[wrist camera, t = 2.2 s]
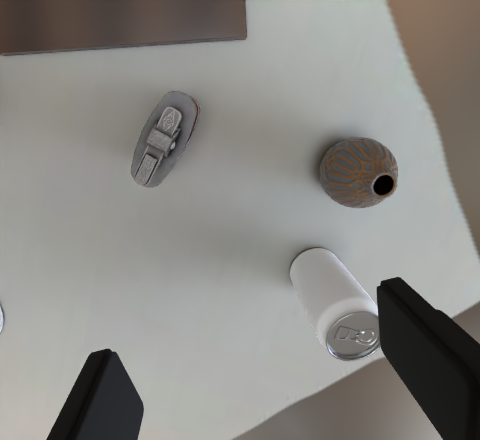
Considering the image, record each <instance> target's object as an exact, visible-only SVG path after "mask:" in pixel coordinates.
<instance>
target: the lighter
mask: <svg viewBox="0 0 480 440" xmlns="http://www.w3.org/2000/svg"><path fill="white" fill-rule="evenodd" d="M199 111H200V109H199V105H198V103H197V102H196V101H195V100H194V99H193V98H192V97H190V96H187V95H186V94H184V93H182V92H178V91H172V92H169V93H167V94H166V95H165V96H164V97H163V98H162V100H161V101H160V102H159V104H158V105H157V106H156V108H155V109H154V111H153V112H152V113H151V115H150V117H149V119H148V121H147V123H146V124H145V126H144V128H143V130H142V132H141V135H140V138H139V140H138V143H137V146H136V149H135V153H134V157H133V162H132V166H131V174H132V176H133V178H134V181H135V182H136V183H138V184H140V185H142V186H145V187H155V186H158V185H159V184H160V183H161V182H162V181H163V180H164V178H165V177H166V176H167V174H168V173H169V172H170V171H171V169H172V168H173V166H174V165H175V163H176V162H177V160H178V159H179V158H180V156H181V155H182V153H183V152H184V150H185V148H186V147H187V145H188V143H189V141H190V139H191V137H192V134H193V132H194V129H195V127H196V123H197V120H198V116H199Z"/></svg>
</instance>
